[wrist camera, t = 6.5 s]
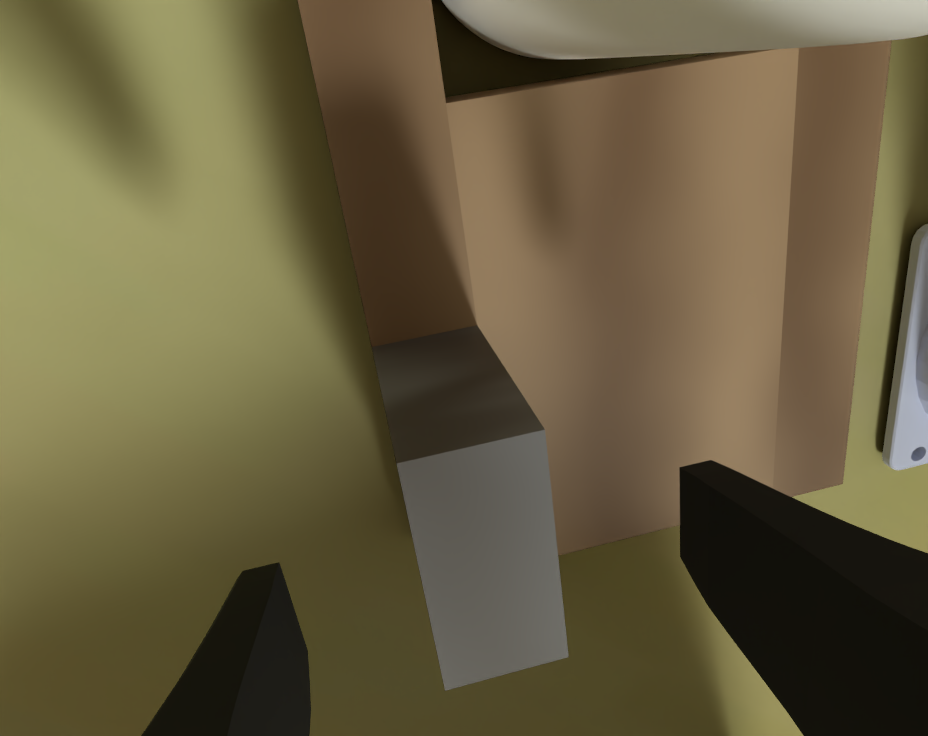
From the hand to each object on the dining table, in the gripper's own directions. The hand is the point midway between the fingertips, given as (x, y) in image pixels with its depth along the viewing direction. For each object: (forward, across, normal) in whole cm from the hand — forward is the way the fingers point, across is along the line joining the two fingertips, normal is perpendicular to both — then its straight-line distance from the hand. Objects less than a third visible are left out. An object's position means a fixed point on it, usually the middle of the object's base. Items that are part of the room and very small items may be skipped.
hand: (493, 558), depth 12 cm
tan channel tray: (+7, -5, -6) cm, 10 cm away
